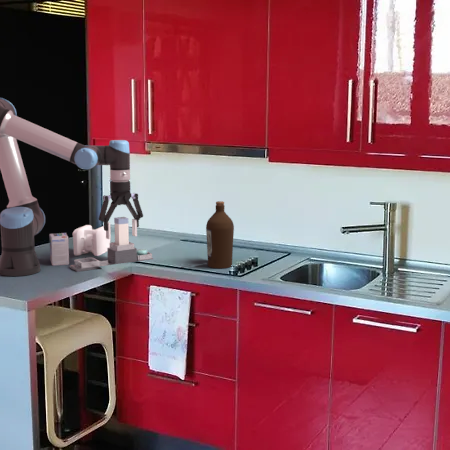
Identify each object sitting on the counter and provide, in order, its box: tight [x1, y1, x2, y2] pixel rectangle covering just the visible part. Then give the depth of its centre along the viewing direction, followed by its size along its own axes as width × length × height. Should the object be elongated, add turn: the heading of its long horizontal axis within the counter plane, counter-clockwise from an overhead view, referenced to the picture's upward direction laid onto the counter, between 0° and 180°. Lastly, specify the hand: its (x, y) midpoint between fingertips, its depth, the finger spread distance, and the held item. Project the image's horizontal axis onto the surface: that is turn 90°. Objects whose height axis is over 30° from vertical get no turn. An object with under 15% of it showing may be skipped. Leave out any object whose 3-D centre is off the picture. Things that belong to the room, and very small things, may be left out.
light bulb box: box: [48, 232, 70, 266], centre depth 273 cm, size 11×7×11 cm, turn 18°
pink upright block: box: [113, 216, 130, 245], centre depth 270 cm, size 4×5×12 cm
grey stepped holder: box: [69, 241, 154, 273], centre depth 269 cm, size 32×8×8 cm, turn 123°
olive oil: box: [205, 200, 235, 270], centre depth 266 cm, size 11×11×25 cm
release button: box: [137, 248, 148, 255], centre depth 276 cm, size 4×4×2 cm
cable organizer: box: [72, 224, 111, 257], centre depth 286 cm, size 15×11×12 cm
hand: (121, 237), depth 270 cm, fingers open, 10 cm apart
